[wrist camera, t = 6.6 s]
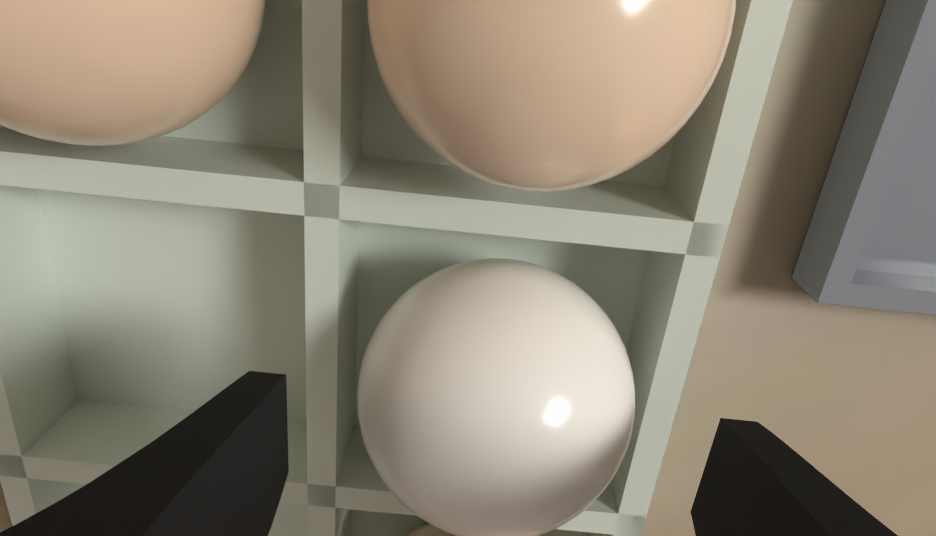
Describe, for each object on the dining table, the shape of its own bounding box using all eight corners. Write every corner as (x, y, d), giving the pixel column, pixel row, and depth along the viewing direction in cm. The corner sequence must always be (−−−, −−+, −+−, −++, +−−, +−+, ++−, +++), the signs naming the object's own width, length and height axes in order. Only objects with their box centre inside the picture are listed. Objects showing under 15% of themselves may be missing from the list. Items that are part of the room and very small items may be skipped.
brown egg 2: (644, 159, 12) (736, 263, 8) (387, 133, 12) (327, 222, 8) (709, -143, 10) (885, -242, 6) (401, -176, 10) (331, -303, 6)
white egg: (586, 429, 15) (630, 623, 10) (375, 408, 15) (326, 595, 10) (629, 232, 13) (706, 367, 8) (385, 207, 13) (330, 329, 8)
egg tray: (575, 630, 19) (587, 723, 16) (108, 586, 19) (52, 674, 16) (780, -207, 10) (867, -264, 8) (-66, -301, 10) (-234, -385, 8)
